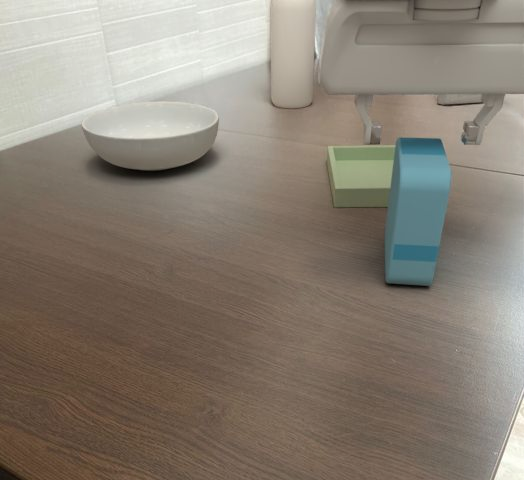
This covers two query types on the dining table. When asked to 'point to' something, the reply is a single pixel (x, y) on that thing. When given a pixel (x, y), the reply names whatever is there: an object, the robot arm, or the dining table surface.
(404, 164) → the data package
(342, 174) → the shallow green tray
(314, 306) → the dining table surface
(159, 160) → the serving bowl
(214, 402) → the dining table surface
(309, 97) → the alcohol
